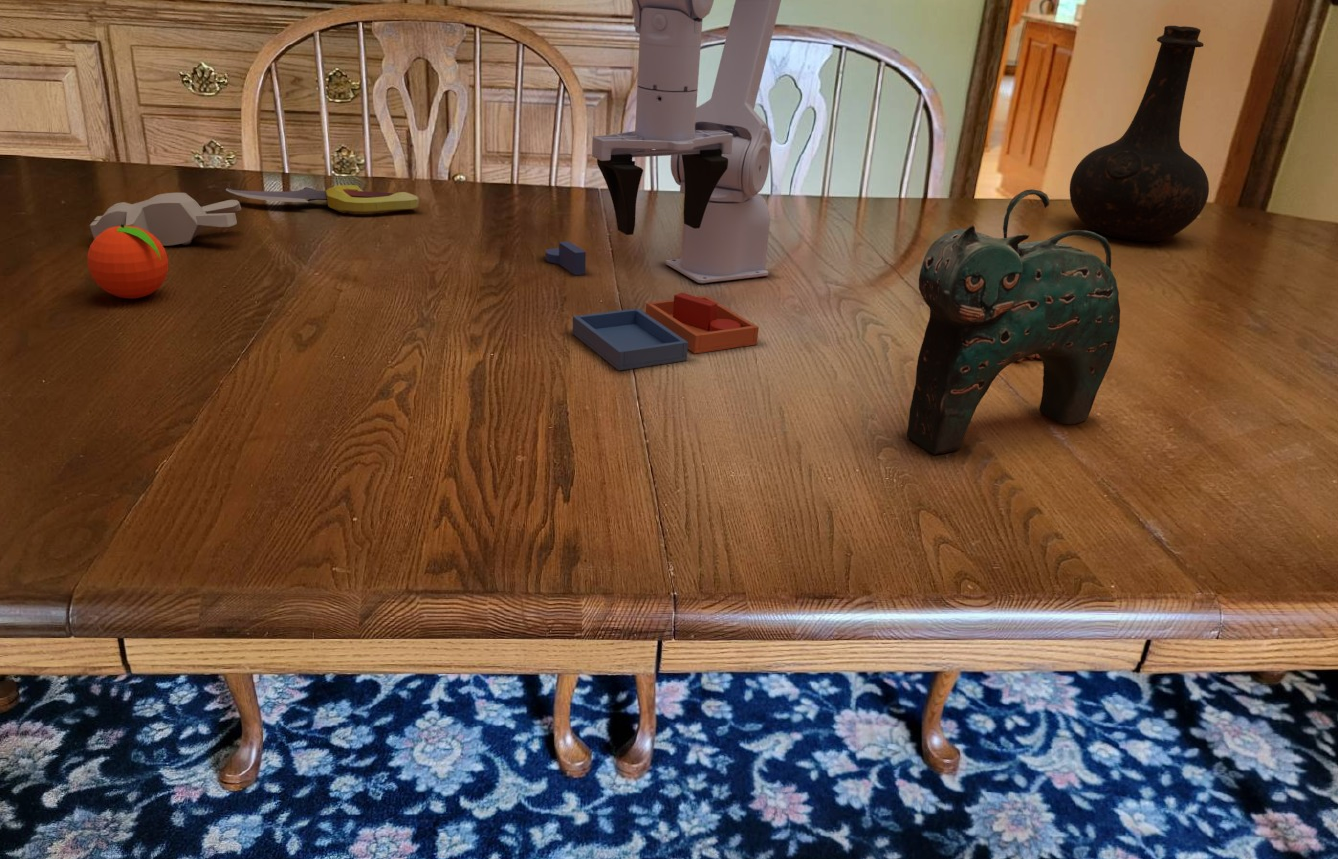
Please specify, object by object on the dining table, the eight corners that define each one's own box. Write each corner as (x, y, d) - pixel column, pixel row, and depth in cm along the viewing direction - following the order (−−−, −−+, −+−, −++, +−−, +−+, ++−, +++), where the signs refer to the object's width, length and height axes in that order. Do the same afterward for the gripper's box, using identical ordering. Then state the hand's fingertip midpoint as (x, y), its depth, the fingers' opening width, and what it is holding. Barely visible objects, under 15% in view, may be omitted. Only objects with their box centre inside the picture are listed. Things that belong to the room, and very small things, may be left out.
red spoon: (746, 333, 102) (748, 308, 101) (728, 341, 100) (730, 315, 99) (684, 314, 106) (686, 290, 105) (666, 321, 104) (668, 296, 103)
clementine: (197, 296, 103) (187, 224, 100) (138, 315, 98) (125, 240, 94) (138, 281, 106) (127, 211, 103) (77, 299, 100) (63, 226, 97)
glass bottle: (1038, 227, 151) (1083, 18, 139) (1098, 212, 162) (1145, 18, 150) (1159, 258, 139) (1220, 34, 127) (1214, 240, 150) (1276, 32, 138)
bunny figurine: (97, 196, 119) (236, 180, 122) (110, 239, 121) (246, 223, 125) (79, 217, 111) (229, 200, 114) (94, 264, 113) (240, 246, 117)
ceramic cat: (925, 466, 80) (975, 203, 71) (873, 431, 85) (913, 182, 76) (1109, 427, 88) (1173, 189, 80) (1052, 397, 94) (1106, 171, 85)
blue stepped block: (541, 257, 122) (541, 235, 121) (565, 255, 124) (565, 233, 123) (567, 276, 117) (568, 253, 115) (592, 273, 118) (592, 251, 117)
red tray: (704, 311, 109) (706, 295, 108) (757, 344, 101) (758, 326, 100) (644, 319, 105) (645, 302, 105) (694, 353, 98) (695, 335, 97)
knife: (211, 209, 132) (413, 219, 133) (208, 188, 131) (412, 199, 132) (231, 195, 139) (423, 205, 140) (229, 175, 138) (422, 185, 139)
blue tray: (637, 325, 104) (638, 307, 103) (686, 360, 96) (688, 342, 95) (572, 333, 100) (572, 316, 100) (618, 370, 93) (619, 351, 92)
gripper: (618, 95, 93) (613, 246, 98) (754, 92, 99) (741, 233, 105) (583, 83, 98) (580, 226, 104) (715, 81, 105) (704, 215, 111)
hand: (659, 229), depth 105 cm, fingers open, 7 cm apart
